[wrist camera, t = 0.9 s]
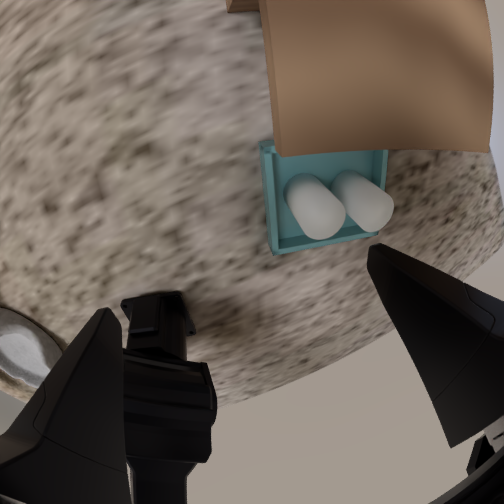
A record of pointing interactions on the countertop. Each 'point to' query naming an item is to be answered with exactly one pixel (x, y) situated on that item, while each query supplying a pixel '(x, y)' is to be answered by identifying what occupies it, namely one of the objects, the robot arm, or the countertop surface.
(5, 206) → the countertop surface
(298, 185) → the white egg
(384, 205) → the white round piece
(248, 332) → the countertop surface
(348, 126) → the counter shelf
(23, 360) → the dish
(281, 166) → the tray
